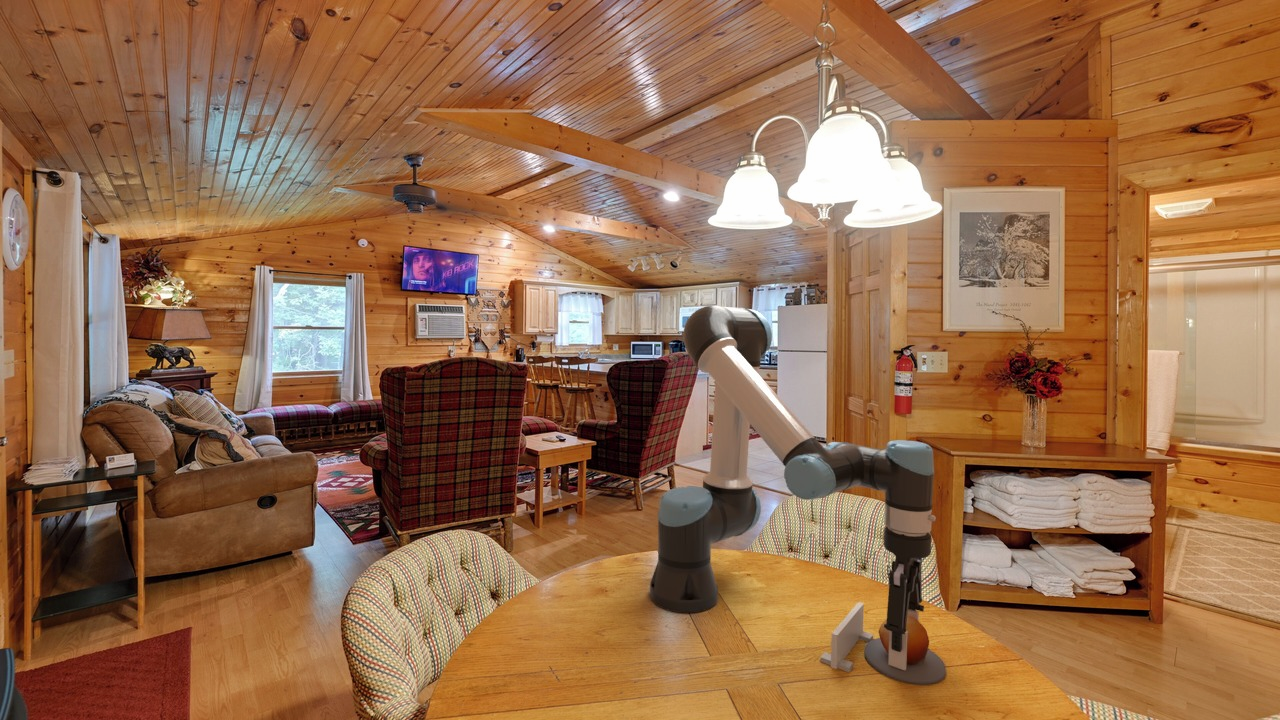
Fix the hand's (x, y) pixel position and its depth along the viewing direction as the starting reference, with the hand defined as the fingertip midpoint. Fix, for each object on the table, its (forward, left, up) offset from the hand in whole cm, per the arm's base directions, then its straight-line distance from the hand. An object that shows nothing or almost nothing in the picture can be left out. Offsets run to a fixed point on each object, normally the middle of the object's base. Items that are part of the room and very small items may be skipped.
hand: (903, 655), depth 96 cm
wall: (-9, -3, -1) cm, 9 cm away
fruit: (0, 0, -1) cm, 1 cm away
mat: (0, 0, -1) cm, 1 cm away
